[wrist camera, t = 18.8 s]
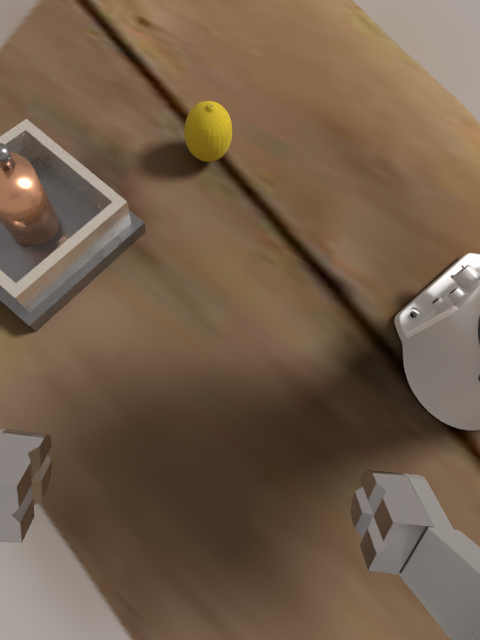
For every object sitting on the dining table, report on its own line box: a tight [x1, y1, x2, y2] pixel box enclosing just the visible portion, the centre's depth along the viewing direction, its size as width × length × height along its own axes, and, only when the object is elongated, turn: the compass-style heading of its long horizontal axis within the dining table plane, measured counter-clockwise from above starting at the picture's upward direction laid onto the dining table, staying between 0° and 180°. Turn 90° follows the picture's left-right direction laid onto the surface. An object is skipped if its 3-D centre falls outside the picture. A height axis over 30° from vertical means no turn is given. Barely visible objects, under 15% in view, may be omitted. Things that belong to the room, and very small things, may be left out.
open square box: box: [0, 119, 145, 331], centre depth 42 cm, size 16×16×6 cm
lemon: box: [184, 101, 232, 162], centre depth 47 cm, size 6×6×8 cm
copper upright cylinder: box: [0, 143, 59, 245], centre depth 38 cm, size 5×5×10 cm
